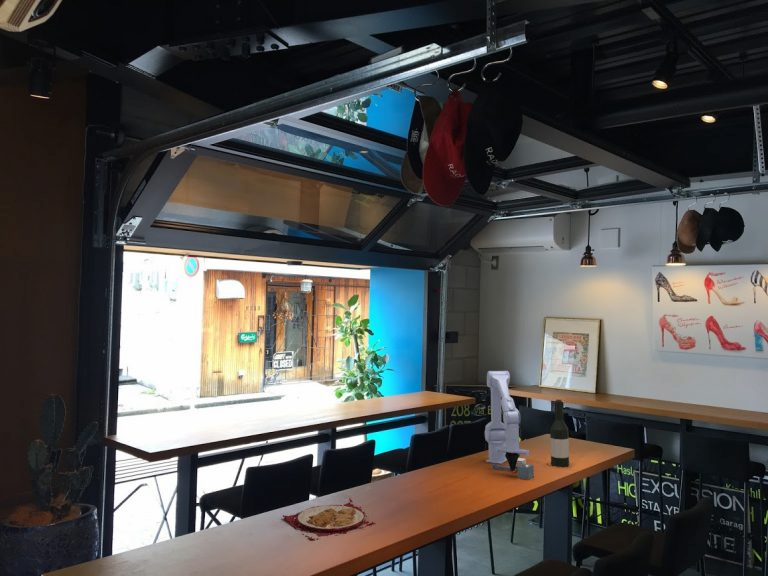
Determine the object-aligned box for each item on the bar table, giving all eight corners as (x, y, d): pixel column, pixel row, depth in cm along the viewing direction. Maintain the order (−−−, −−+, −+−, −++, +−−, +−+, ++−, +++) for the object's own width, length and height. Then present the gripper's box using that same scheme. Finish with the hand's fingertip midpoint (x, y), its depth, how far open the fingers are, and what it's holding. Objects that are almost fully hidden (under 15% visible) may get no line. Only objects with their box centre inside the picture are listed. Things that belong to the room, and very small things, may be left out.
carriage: (516, 469, 268) (516, 457, 269) (526, 470, 266) (526, 458, 266) (512, 471, 264) (512, 459, 265) (522, 473, 262) (522, 461, 262)
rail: (494, 467, 273) (494, 463, 273) (532, 472, 263) (532, 468, 264) (491, 468, 271) (491, 464, 271) (530, 474, 261) (530, 469, 261)
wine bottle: (571, 467, 272) (570, 401, 274) (553, 467, 272) (551, 401, 274) (566, 462, 280) (565, 398, 282) (548, 462, 281) (547, 398, 282)
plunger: (516, 471, 260) (516, 465, 260) (525, 473, 257) (525, 467, 257) (514, 473, 257) (514, 467, 257) (523, 474, 255) (523, 468, 255)
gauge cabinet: (522, 475, 260) (522, 462, 260) (533, 476, 257) (533, 464, 257) (517, 478, 255) (517, 465, 255) (529, 479, 252) (528, 467, 252)
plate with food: (282, 521, 207) (281, 510, 207) (349, 506, 220) (349, 496, 221) (311, 545, 186) (310, 533, 186) (384, 526, 199) (383, 515, 199)
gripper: (492, 438, 260) (493, 470, 260) (525, 442, 252) (525, 474, 252) (499, 435, 266) (499, 466, 266) (530, 439, 258) (531, 471, 258)
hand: (512, 470), depth 259 cm, fingers closed
